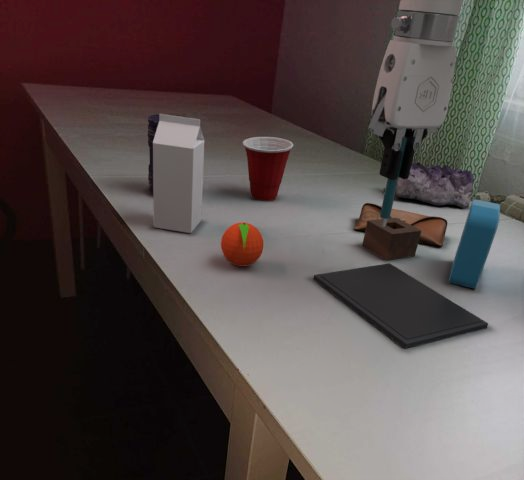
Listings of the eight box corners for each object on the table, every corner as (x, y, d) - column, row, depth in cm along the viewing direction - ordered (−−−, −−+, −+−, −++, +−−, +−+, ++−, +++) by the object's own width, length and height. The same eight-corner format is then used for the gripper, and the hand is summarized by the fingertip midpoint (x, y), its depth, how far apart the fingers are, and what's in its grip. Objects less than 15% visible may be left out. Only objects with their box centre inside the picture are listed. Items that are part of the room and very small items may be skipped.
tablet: (388, 267, 94) (389, 262, 93) (487, 328, 78) (489, 322, 78) (313, 279, 87) (313, 273, 86) (404, 348, 71) (406, 343, 70)
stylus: (383, 224, 83) (402, 135, 76) (389, 227, 82) (409, 137, 75) (375, 224, 82) (394, 135, 75) (382, 228, 81) (401, 138, 74)
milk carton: (191, 234, 98) (194, 122, 87) (153, 228, 98) (152, 117, 88) (201, 221, 104) (205, 116, 93) (165, 216, 104) (166, 110, 94)
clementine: (263, 277, 85) (268, 234, 81) (219, 274, 84) (222, 231, 81) (260, 257, 92) (264, 216, 88) (219, 254, 91) (221, 213, 87)
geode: (464, 199, 137) (479, 160, 130) (469, 219, 128) (485, 178, 122) (385, 184, 138) (396, 145, 132) (384, 202, 129) (395, 162, 123)
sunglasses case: (353, 228, 107) (361, 195, 107) (354, 236, 114) (362, 205, 114) (444, 247, 104) (453, 213, 103) (440, 253, 111) (448, 222, 110)
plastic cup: (228, 193, 121) (232, 137, 114) (263, 187, 127) (269, 134, 121) (261, 207, 114) (267, 149, 108) (296, 200, 121) (304, 145, 115)
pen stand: (390, 242, 104) (396, 217, 102) (414, 256, 100) (421, 230, 97) (361, 245, 101) (367, 220, 99) (385, 260, 96) (392, 234, 94)
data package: (453, 261, 99) (473, 196, 93) (478, 266, 98) (500, 202, 92) (447, 285, 90) (469, 215, 83) (475, 292, 89) (499, 221, 82)
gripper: (397, 28, 62) (367, 188, 72) (489, 37, 69) (450, 181, 79) (358, 23, 67) (335, 172, 77) (447, 32, 74) (415, 167, 84)
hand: (393, 176), depth 78 cm, fingers closed on stylus, 1 cm apart
